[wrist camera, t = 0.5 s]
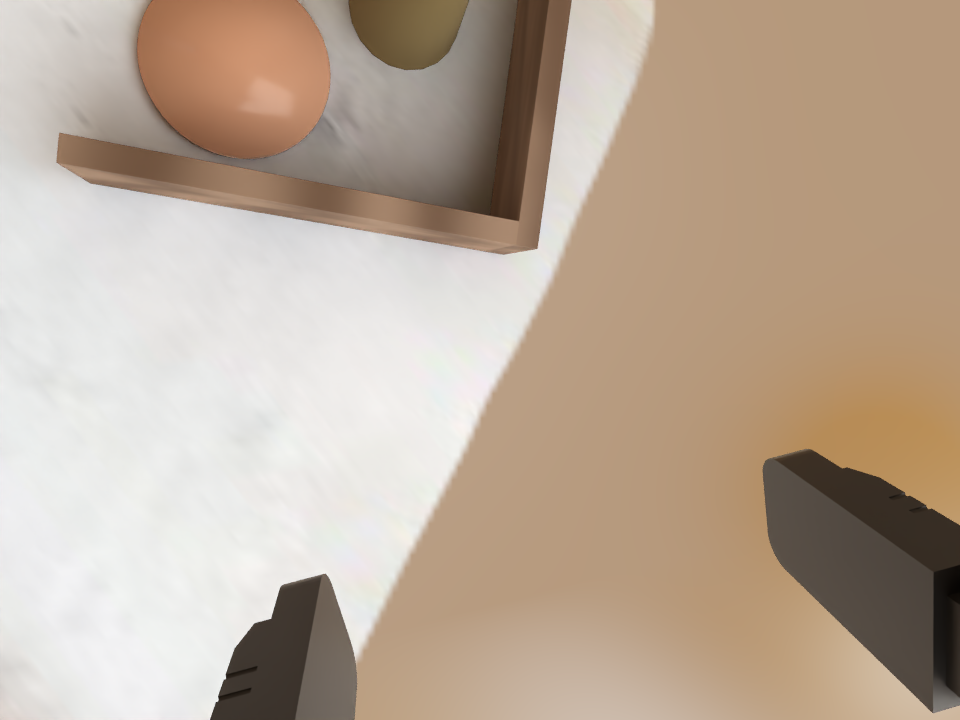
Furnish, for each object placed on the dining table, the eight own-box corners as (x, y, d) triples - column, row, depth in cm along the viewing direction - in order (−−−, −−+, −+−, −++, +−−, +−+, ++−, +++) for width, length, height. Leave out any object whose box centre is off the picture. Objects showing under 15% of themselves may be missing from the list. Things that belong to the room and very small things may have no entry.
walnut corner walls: (90, 183, 30) (56, 162, 25) (126, -206, 29) (98, -304, 24) (503, 254, 37) (537, 248, 32) (545, -58, 36) (586, -111, 31)
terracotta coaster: (130, 137, 30) (128, 135, 30) (149, -52, 30) (146, -58, 29) (319, 174, 33) (319, 173, 33) (339, 2, 33) (340, -2, 32)
